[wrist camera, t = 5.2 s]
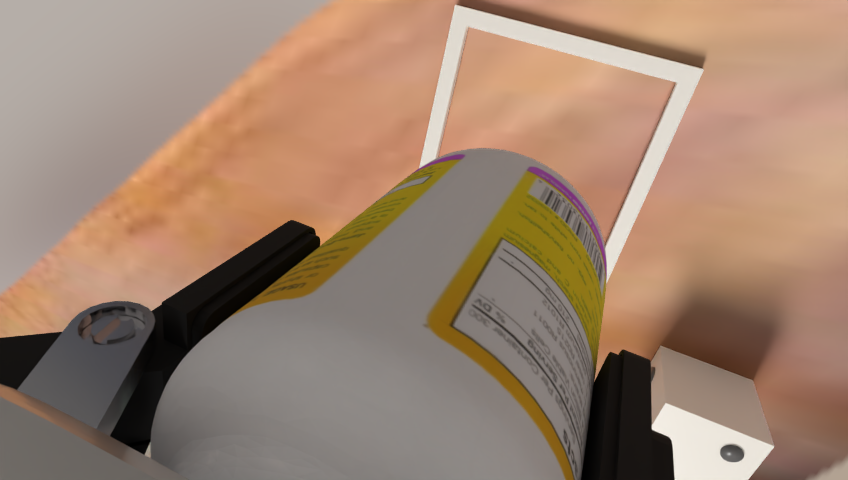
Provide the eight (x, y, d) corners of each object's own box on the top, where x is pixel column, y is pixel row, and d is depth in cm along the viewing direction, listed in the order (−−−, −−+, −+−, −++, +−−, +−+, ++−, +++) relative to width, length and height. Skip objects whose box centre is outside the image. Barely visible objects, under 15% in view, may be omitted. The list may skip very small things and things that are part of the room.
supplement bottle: (383, 305, 18) (-8, 764, 7) (406, 118, 15) (-216, 438, 4) (575, 372, 16) (435, 1105, 6) (645, 176, 13) (633, 978, 2)
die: (752, 379, 28) (775, 447, 24) (709, 441, 31) (722, 513, 26) (658, 344, 30) (664, 403, 25) (624, 406, 32) (623, 470, 28)
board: (702, 68, 23) (703, 69, 23) (497, 520, 39) (495, 526, 39) (457, 4, 26) (454, 5, 25) (358, 455, 42) (355, 459, 41)
